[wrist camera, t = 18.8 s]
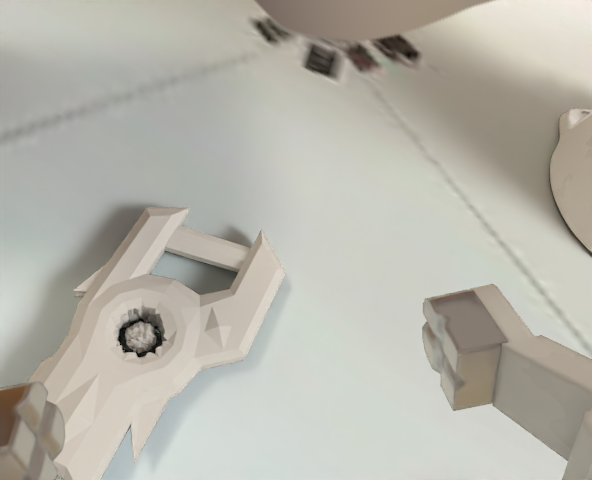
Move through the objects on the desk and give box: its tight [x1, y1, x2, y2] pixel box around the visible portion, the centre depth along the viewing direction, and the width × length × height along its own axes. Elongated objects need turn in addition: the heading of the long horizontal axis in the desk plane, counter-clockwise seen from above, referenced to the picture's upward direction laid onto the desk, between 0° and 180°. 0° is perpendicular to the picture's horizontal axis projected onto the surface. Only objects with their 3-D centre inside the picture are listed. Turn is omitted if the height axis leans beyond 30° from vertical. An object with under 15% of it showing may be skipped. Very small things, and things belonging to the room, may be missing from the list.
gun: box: [27, 208, 286, 480], centre depth 29 cm, size 18×3×10 cm
